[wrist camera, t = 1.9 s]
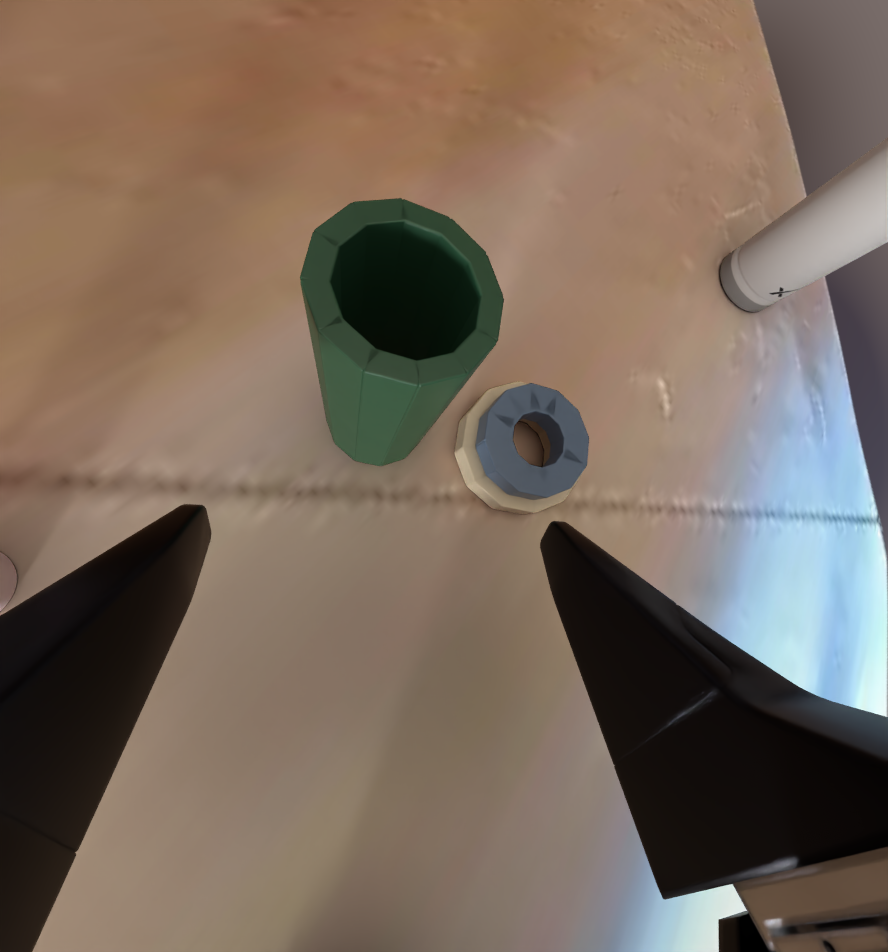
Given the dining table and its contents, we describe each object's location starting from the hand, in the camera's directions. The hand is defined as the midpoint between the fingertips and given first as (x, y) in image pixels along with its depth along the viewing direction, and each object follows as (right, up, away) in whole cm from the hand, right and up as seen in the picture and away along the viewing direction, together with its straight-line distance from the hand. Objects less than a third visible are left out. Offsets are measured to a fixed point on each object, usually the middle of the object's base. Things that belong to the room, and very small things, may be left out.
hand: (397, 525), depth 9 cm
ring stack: (+6, +3, +15) cm, 17 cm away
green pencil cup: (-3, +5, +13) cm, 14 cm away
